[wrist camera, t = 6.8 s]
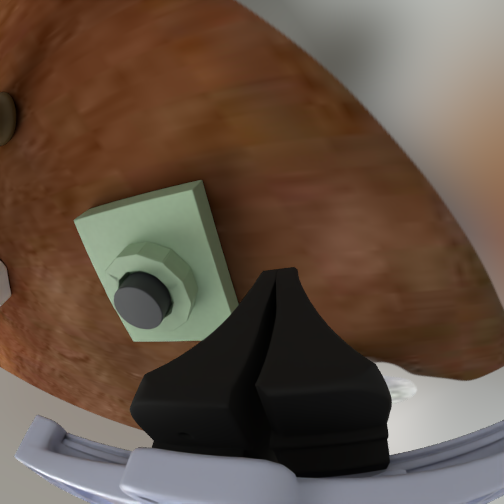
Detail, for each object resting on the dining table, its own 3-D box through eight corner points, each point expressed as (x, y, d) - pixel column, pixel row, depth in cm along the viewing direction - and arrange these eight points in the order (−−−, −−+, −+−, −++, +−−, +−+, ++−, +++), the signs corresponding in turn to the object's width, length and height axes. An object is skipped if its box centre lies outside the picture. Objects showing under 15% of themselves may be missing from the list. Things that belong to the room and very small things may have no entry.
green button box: (244, 320, 25) (236, 355, 21) (142, 325, 27) (125, 355, 23) (202, 179, 19) (182, 199, 16) (88, 209, 21) (59, 230, 18)
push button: (178, 312, 20) (170, 329, 19) (136, 314, 21) (127, 330, 20) (159, 268, 19) (149, 284, 17) (116, 274, 19) (104, 288, 18)
